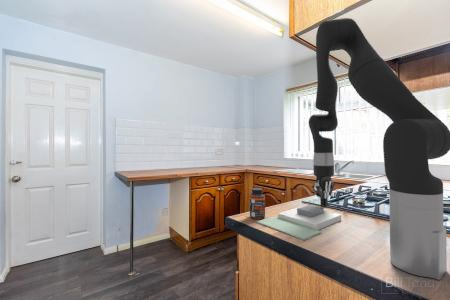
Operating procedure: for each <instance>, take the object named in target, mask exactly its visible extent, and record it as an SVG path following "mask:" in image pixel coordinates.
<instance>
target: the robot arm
mask: <svg viewBox="0 0 450 300" xmlns="http://www.w3.org/2000/svg"><path fill="white" fill-rule="evenodd" d="M315 51H316V52H315V54H316V55H315V56H316V75H317V78H316V79H317V82H316V83H317V85H316V87H317V88H316V94H315V96H316V97H315V108H316V109H317V110H319V111H322V112H327V113H317V114H312V115H311V116H310V117H309V118H308V127H309V130H310V132H311V135H312V141H313V157H312V158H313V160H312V163H313V166H312V167H313V175H314V176H315V177H316V179H315V184H314V185H313V184H312V185H311V188H312V190H313V191H314V194H315V196H316V197H318V198H319V200H320V201H319V202H320V207H322V208H324V209H325V208H328V206H329V205H328V204H329V203H328V202H329V201H328V200H329V198H330V196H332V193H333V191H334V188H335V185H336V183H335V182H333V181H332V177H334V176H335V158H334V142H333V141H334V140H333V139H332V138H330V137H327V136H326V137H325V136H322V135H321V134H320V133H323V132H334V131H335V130H336V129H337V128H338V124H339V122H338V116H337V110H336V109H337V108H336V105H337V97H338V92H339V91H338V90H339V89H338V87H339V84H338V81H337V79H336V77H335V75H334V73H333V71H332V68H331V65H330V52H333V51H344V52H346V53H347V55H348V56H349V57H350V62H349V66H348V70H347V76H348V81H349V83H350V84H351V86H352V87H353V89H354V91H355V92H356V93H357V94H358V95H359V96H360V98H361V99H362V100H363V101H365V102H366V103H368V104H370V105H371V106H372V107H374V108H376V109H377V110H379V111H380V112H381V113H383V114H384V115H385V116H387V117H388V118H389V119H390V120H391V121H392V123H390V125H389V126H388V127H387V128H386V130H385V132H384V135H383V140H382V141H383V142H382V149H383V150H382V151H383V162H384V163H383V164H384V174H385V177H386V179H387V181H388V187H389V190H388V191H389V193H388V194H389V198H388V199H389V202H388V203H389V255H390V256H389V257H390V260H389V261H390V263H391V264H392V265H393V266H395V267H396V268H397V269H399V270H401V271H403V272H406V273H407V274H411V275H414V276H415V275H416V276H418V277H419V276H420V277H423V278H431V279H435V280H438V281H440V280H441V279H442V277H443V276H444V275H445V273H446V272H447V266H448V265H447V263H448V262H447V228H446V226H444V183H443V181H442V179H440V178H439V177H437V176H435V175H434V174H432V173H431V171H430V166H429V165H430V164H429V160H434V159H439V158H442V157H444V156H446V155H447V154H448V153H449V152H450V129H449V128H448V126H447V125H446V124H445V123H444V122H443V121H442V120H441V119H440V118H439V117H438V116H436V115H435V114H434V112H432V111H430V110H429V109H428V107H426V106H425V105H424V104H423V103H421V102H420V101H419V99H417V97H416V96H415V95H414V94H413V93H412V91H410V89H409V88H408V87H407V85H406V84H405V83H404V82H403V81H402V79H400V77H399V76H398V75H397V74H396V73H395V71H394V70H393V69H392V68H391V67H390V66H389V64H388V62H386V61H385V59H384V58H382V57H381V55H379V53H378V52H377V50H376V49H375V48H374V47H373V45H372V44H371V43H370V42H369V41H368V39H367V38H366V36H365V34H364V33H363V31H362V29H361V27H359V25H358V24H357V22H356V21H355V19H352V17H351V18H350V17H342V18H335V19H329V20H323V21H322V22H321V23H320V24H319V25H318V28H317V31H316V36H315Z"/></svg>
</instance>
